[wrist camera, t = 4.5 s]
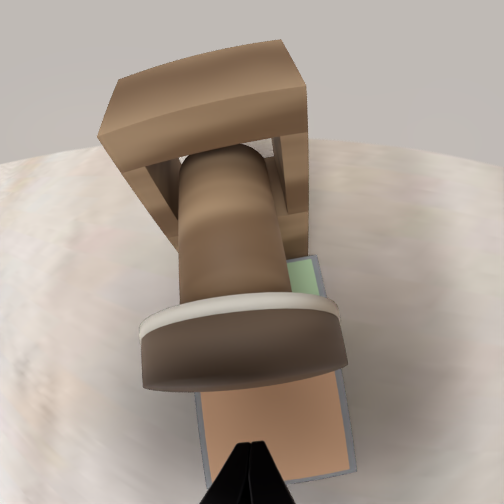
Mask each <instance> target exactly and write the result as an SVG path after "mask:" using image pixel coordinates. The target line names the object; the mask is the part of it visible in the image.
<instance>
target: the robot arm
mask: <svg viewBox="0 0 504 504" xmlns="http://www.w3.org/2000/svg"><path fill="white" fill-rule="evenodd" d="M199 504H296V503H295V502H294V500H293V498H292V496H291V494H290V492H289V490H288V488H287V486H286V484H285V482H284V480H283V478H282V476H281V474H280V472H279V470H278V468H277V466H276V464H275V462H274V460H273V458H272V456H271V454H270V452H269V449H268V447H267V445H266V443H265V441H263V440H261V441H253V442H251V443H250V442H241V443H237V444H236V445H235V447H234V449H233V450H232V452H231V454H230V455H229V457H228V459H227V460H226V462H225V464H224V465H223V467H222V469H221V470H220V472H219V474H218V475H217V477H216V478H215V480H214V482H213V483H212V485H211V486H210V488H209V490H208V491H207V493H206V494H205V496H204V497H203V499H202V500H201V502H200V503H199Z"/></svg>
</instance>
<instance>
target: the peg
mask: <svg viewBox="0 0 504 504" xmlns="http://www.w3.org/2000/svg"><path fill="white" fill-rule="evenodd" d="M178 244H179V290H180V305H177V306H174V307H170V308H167V309H165V310H162V311H159V312H157V313H155V314H153V315H151V316H149V317H148V318H147V319H145V320H144V321H143V322H142V323H141V324H140V327H139V342H140V345H141V357H142V378H143V388H145V389H149V390H154V391H164V392H214V391H229V390H240V389H249V388H257V387H264V386H271V385H277V384H283V383H288V382H293V381H298V380H303V379H307V378H311V377H315V376H319V375H323V374H326V373H330V372H333V371H336V370H338V369H341V368H343V367H345V366H347V365H348V361H347V355H346V350H345V345H344V341H343V336H342V331H341V326H340V322H341V319H340V314H339V310H338V306H337V304H336V303H335V302H334V301H332V300H330V299H328V298H325V297H322V296H318V295H313V294H306V293H293V292H292V289H291V283H290V278H289V273H288V268H287V262H286V257H285V252H284V247H283V242H282V237H281V232H280V227H279V222H278V217H277V213H276V208H275V203H274V198H273V193H272V189H271V184H270V179H269V175H268V170H267V166H266V162H265V160H264V158H263V157H262V156H261V154H259V153H258V152H257V151H256V150H254V149H253V148H251V147H249V146H246V145H244V144H236V145H231V146H226V147H222V148H217V149H212V150H208V151H204V152H199V153H195V154H191V155H189V156H188V157H187V158H186V159H185V160H184V162H183V163H182V165H181V167H180V171H179V209H178Z"/></svg>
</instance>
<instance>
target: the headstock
mask: <svg viewBox="0 0 504 504" xmlns="http://www.w3.org/2000/svg"><path fill="white" fill-rule="evenodd" d="M307 117H308V116H307V91H306V84H305V82H304V81H303V79H302V77H301V75H300V73H299V71H298V69H297V67H296V66H295V64H294V62H293V60H292V58H291V56H290V55H289V53H288V51H287V49H286V48H285V46H284V44H283V42H282V40H281V39H280V40H272V41H265V42H259V43H253V44H247V45H241V46H236V47H231V48H226V49H221V50H216V51H212V52H207V53H203V54H199V55H195V56H191V57H188V58H184V59H180V60H176V61H173V62H169V63H166V64H163V65H160V66H156V67H153V68H150V69H147V70H144V71H142V72H139V73H136V74H133V75H130V76H127V77H124V78H122V79H119V80H118V82H117V85H116V87H115V89H114V92H113V95H112V97H111V99H110V102H109V104H108V107H107V110H106V113H105V115H104V118H103V121H102V124H101V127H100V130H99V133H98V136H97V138H98V139H99V141H100V142H101V144H102V145H103V147H104V148H105V150H106V151H107V153H108V154H109V156H110V157H111V159H112V160H113V162H114V163H115V165H116V166H117V168H118V169H119V171H120V172H121V174H122V175H123V177H124V178H125V179H126V181H127V182H128V184H129V185H130V187H131V188H132V190H133V191H134V192H135V194H136V195H137V197H138V198H139V199H140V201H141V202H142V204H143V205H144V207H145V208H146V209H147V211H148V212H149V214H150V215H151V216H152V218H153V219H154V220H155V222H156V223H157V225H158V226H159V227H160V229H161V230H162V231H163V233H164V234H165V235H166V237H167V238H168V239H169V241H170V242H171V244H172V245H173V246H174V248H175V249H176V250H177V252H178V253H179V244H178V209H179V171H180V167H181V163H180V160H179V157H183V156H187V155H191V154H195V153H199V152H204V151H208V150H212V149H217V148H222V147H226V146H231V145H236V144H241V143H246V142H251V141H257V140H262V139H268V138H272V145H273V153H274V156H273V157H267V158H264V160H265V162H266V166H267V170H268V175H269V179H270V184H271V189H272V193H273V198H274V203H275V208H276V213H277V217H278V222H279V227H280V232H281V237H282V242H283V247H284V252H285V257H286V260H290V259H295V258H301V257H306V256H308V218H309V161H308V118H307Z"/></svg>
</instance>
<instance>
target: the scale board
mask: <svg viewBox="0 0 504 504" xmlns="http://www.w3.org/2000/svg"><path fill="white" fill-rule="evenodd" d="M286 262H287V268H288V273H289V278H290V283H291V289H292V292H293V293H306V294H313V295H318V296H322V297H325V298H327V297H326V292H325V288H324V283H323V279H322V275H321V271H320V266H319V262H318V258H317V255H311V256H306V257H301V258H295V259H290V260H286ZM195 402H196V411H197V420H198V429H199V437H200V445H201V452H202V460H203V467H204V473H205V480H206V486H207V489H209V488H210V486H211V485H212V483H213V482H214V480H215V478H216V477H217V475H218V474H219V472H220V470H221V469H222V467H223V465H224V464H225V462H226V460H227V459H228V457H229V455H230V454H231V452H232V450H233V449H234V447H235V445H236V444H237V443H241V442H250V443H251V442H253V441H261V440H263V441H265V443H266V445H267V447H268V449H269V452H270V454H271V456H272V458H273V460H274V462H275V464H276V466H277V468H278V470H279V472H280V474H281V476H282V478H283V480H284V482H285V484H293V483H300V482H307V481H313V480H319V479H324V478H329V477H334V476H339V475H344V474H348V473H352V472H356V471H357V466H356V458H355V451H354V444H353V437H352V430H351V423H350V417H349V411H348V404H347V398H346V393H345V387H344V381H343V376H342V370H341V369H338V370H336V371H333V372H330V373H326V374H323V375H319V376H315V377H311V378H307V379H303V380H298V381H293V382H288V383H283V384H277V385H271V386H264V387H257V388H249V389H240V390H229V391H214V392H195Z"/></svg>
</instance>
